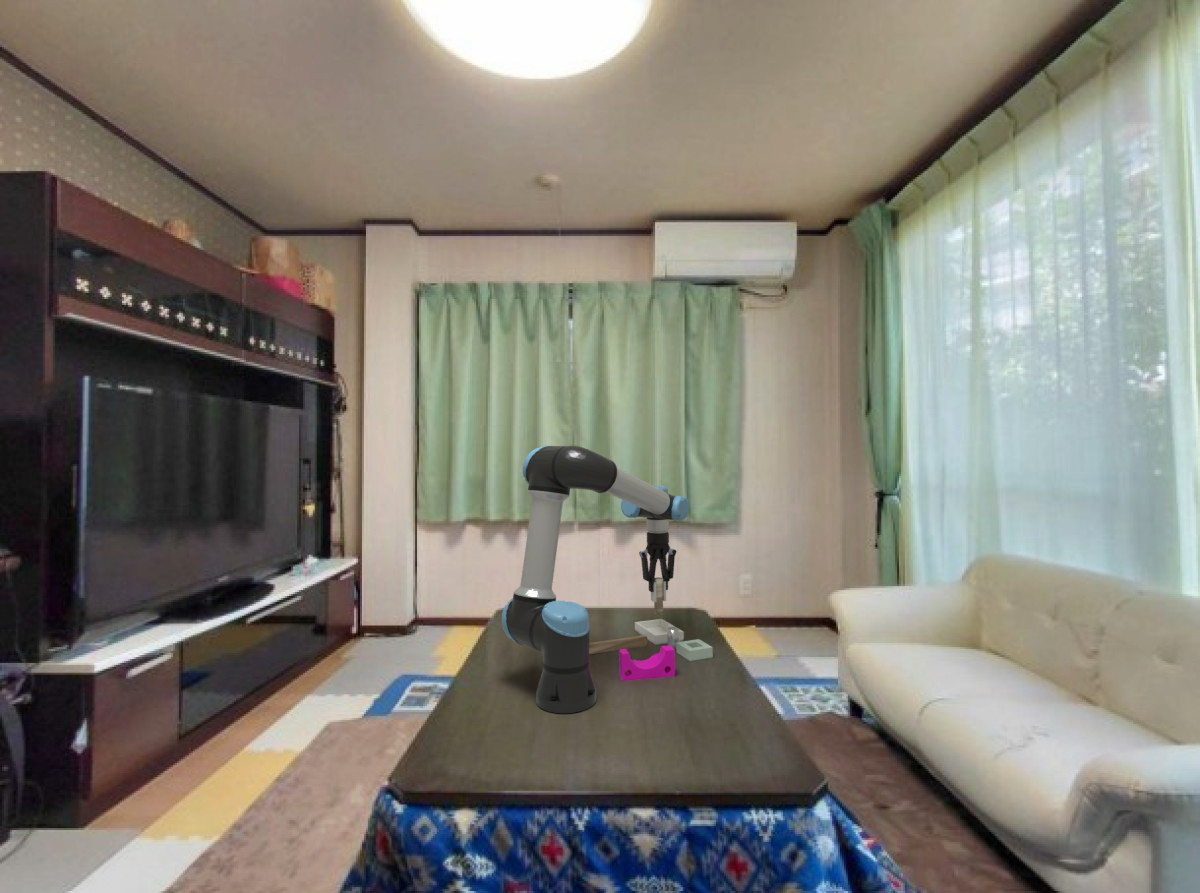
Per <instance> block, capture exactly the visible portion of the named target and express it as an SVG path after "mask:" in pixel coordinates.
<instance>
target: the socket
mask: <svg viewBox="0 0 1200 893" xmlns="http://www.w3.org/2000/svg"><path fill="white" fill-rule="evenodd" d="M676 644H677V649H676V653H677V654H679V655H680V656H681V657H683V658H685V659H686V660H687V661H689V662H692V661H698V660H704V659H711V658H713V657H714V653H713V652H714V649H713V646H711V645H709V643H707V642H705V641H703V640H701V639H699V638H698V639H697V638H696V639H691V640H684V641H680V642H676Z"/></svg>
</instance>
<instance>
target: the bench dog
mask: <svg viewBox="0 0 1200 893" xmlns="http://www.w3.org/2000/svg"><path fill="white" fill-rule="evenodd" d="M679 629H680V628H679V627H678V626H677V627H676V626H675V627H668V628H667V643H666V644H667V645H666V646H671V647H672V648H673V649H674V650H675V651H676V650H677V644H676V642H679Z"/></svg>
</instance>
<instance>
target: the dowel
mask: <svg viewBox="0 0 1200 893" xmlns="http://www.w3.org/2000/svg"><path fill="white" fill-rule="evenodd" d="M654 582H656V595H657V602H653V607H654V608H653V613H654V615H656V616H662V615H664V601H663V578H662V577H657V576H656V577H655V579H654Z"/></svg>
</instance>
